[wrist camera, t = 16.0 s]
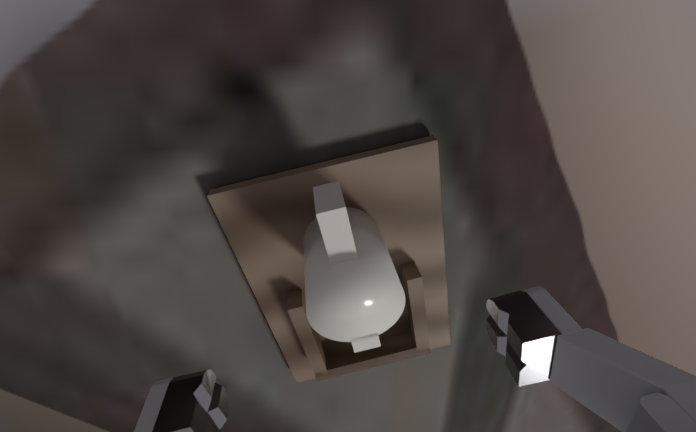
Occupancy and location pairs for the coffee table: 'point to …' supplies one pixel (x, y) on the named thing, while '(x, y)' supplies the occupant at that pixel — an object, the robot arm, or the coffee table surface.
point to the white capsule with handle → (348, 273)
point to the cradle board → (288, 255)
